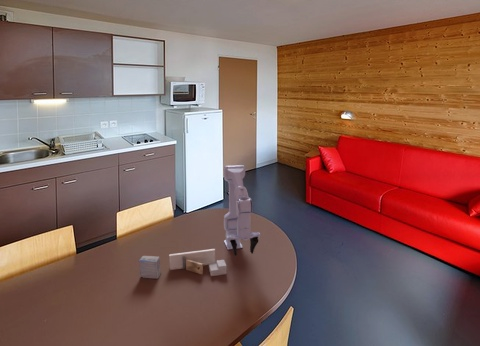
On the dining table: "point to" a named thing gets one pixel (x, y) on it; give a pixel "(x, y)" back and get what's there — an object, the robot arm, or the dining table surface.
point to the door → (194, 266)
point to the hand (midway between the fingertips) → (243, 253)
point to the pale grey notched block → (217, 268)
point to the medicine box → (150, 267)
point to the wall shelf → (191, 258)
